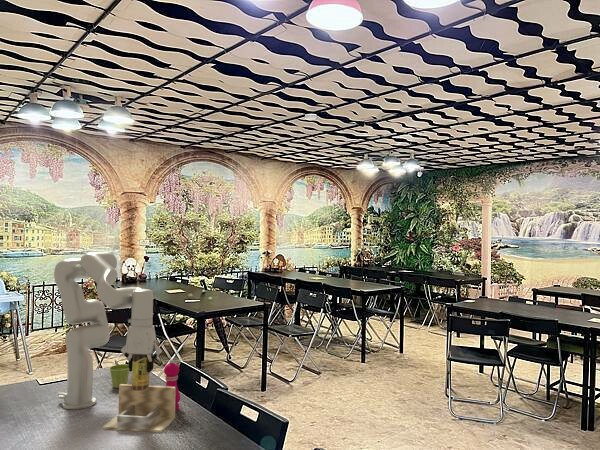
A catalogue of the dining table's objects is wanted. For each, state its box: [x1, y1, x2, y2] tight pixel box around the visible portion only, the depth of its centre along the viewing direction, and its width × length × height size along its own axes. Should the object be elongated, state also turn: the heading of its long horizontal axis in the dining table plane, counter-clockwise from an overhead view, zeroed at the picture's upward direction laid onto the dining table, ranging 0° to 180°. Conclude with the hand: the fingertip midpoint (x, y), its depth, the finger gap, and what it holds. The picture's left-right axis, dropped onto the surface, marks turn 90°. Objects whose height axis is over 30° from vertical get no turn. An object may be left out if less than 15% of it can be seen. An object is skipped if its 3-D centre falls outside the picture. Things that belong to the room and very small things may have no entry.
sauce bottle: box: [130, 354, 151, 391], centre depth 173 cm, size 6×6×20 cm
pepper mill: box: [163, 359, 181, 412], centre depth 188 cm, size 7×7×20 cm
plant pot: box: [108, 363, 130, 389], centre depth 215 cm, size 9×9×9 cm
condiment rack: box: [102, 383, 176, 434], centre depth 173 cm, size 22×13×12 cm, turn 84°
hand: (141, 370), depth 173 cm, fingers closed on sauce bottle, 6 cm apart
